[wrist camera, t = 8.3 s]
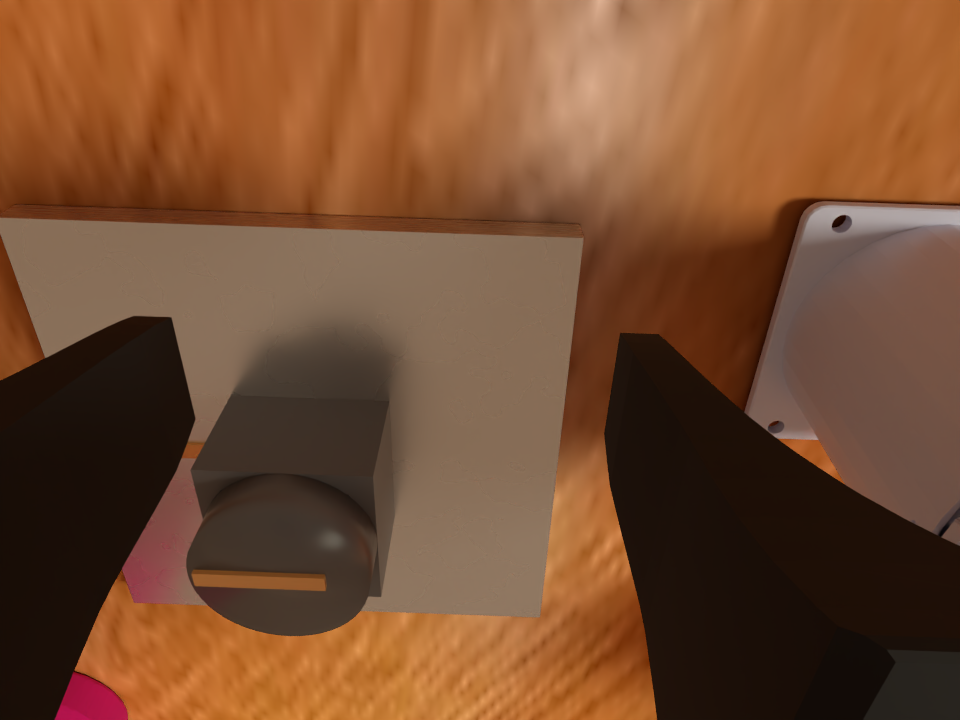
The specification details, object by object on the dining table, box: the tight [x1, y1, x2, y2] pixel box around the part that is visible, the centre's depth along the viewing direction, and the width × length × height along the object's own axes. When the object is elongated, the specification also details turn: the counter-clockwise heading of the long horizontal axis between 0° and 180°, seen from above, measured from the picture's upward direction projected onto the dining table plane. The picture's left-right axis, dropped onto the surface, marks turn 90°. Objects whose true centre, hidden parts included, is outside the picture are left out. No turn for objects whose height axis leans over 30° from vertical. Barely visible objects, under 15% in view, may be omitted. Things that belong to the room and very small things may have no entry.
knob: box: [186, 395, 395, 636], centre depth 21 cm, size 5×5×5 cm
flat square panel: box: [0, 204, 584, 617], centre depth 23 cm, size 16×16×4 cm
